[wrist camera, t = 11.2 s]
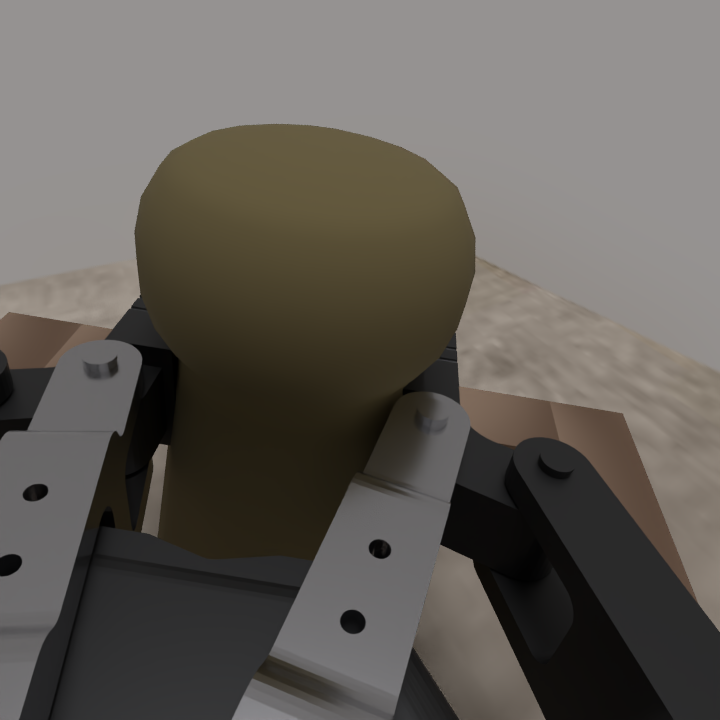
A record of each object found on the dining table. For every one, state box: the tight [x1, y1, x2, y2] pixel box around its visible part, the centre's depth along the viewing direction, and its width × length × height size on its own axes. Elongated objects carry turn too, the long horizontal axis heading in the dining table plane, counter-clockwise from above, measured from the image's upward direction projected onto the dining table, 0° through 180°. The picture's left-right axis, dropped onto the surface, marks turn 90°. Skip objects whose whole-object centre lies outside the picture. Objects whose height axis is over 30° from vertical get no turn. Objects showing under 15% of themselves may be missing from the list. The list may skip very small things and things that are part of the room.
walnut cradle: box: [0, 312, 698, 603], centre depth 16 cm, size 21×12×2 cm, turn 85°
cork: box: [135, 124, 475, 561], centre depth 12 cm, size 6×6×11 cm
